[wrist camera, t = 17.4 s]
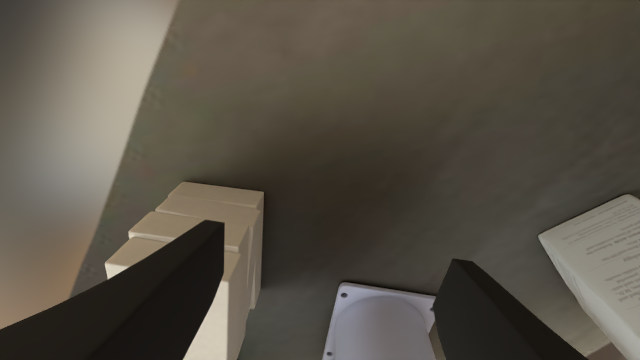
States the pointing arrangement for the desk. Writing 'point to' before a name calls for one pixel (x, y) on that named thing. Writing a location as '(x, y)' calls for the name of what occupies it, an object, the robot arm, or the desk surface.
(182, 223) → the white book
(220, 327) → the white book
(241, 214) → the white book
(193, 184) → the white book
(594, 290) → the cosmetic box
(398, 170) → the desk surface
